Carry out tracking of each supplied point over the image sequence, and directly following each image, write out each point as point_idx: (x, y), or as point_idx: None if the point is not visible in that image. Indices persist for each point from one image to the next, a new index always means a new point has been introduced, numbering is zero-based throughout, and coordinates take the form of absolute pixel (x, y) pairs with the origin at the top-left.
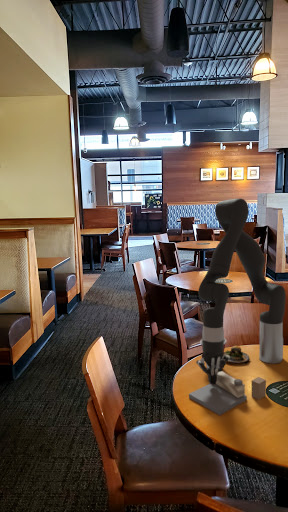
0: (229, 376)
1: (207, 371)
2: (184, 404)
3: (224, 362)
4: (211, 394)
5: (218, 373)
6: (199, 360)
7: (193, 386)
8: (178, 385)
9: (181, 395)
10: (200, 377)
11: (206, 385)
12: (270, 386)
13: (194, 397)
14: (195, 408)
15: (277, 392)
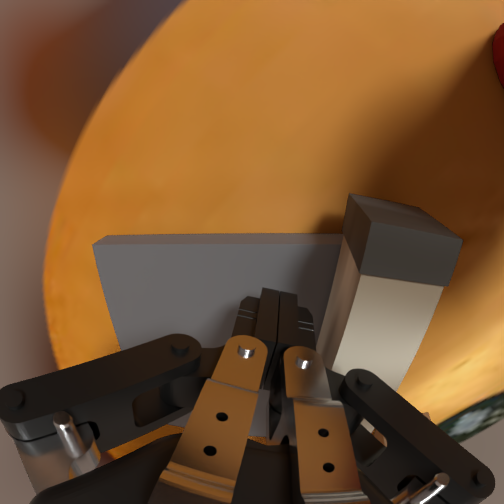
0: (367, 423)
1: (159, 412)
2: (65, 265)
3: (390, 494)
4: (201, 342)
5: (358, 354)
6: (17, 447)
7: (215, 139)
8: (140, 68)
9: (87, 186)
10: (365, 72)
11: (260, 246)
12: (494, 400)
13: (104, 289)
14: (93, 321)
15: (461, 433)
